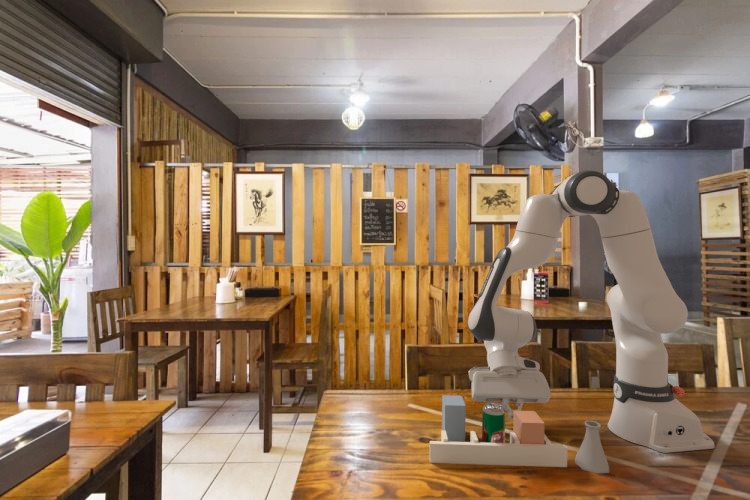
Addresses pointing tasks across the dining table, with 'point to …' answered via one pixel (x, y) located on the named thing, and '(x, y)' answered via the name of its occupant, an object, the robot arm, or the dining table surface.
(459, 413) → the slate blue upright block
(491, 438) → the soda can
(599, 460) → the flask
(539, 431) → the salmon pink brick
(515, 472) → the dining table surface
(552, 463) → the tray
